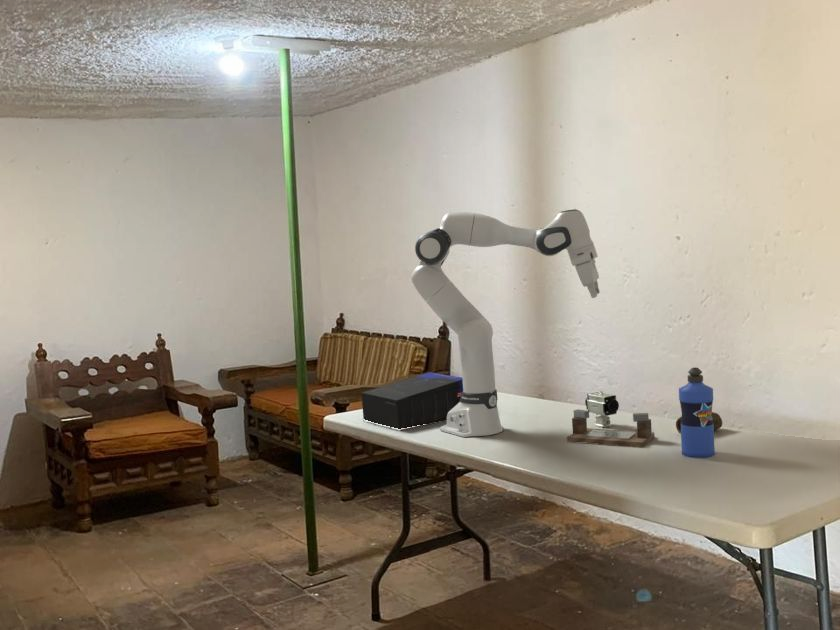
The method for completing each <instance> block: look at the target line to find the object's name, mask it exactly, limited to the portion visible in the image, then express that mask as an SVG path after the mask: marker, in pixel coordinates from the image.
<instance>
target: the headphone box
mask: <svg viewBox="0 0 840 630" xmlns="http://www.w3.org/2000/svg"><path fill="white" fill-rule="evenodd" d="M461 392H463V380H462V376H461V377H460V376H457V375H456V376H454V375H449V374H442V373H436V372H426V373H423V374H419V375H416V376H413V377H410V378H406V379H402V380H400V381H396V382H392V383H390V384H387V385H383V386H382V385H381V386H379V387H376V388H373V389H369V390H366V391H362V392H361V404H362V416H363V419H365V420H368V421H371V422H374V423H378V424H382V425H386V426H390V427H394V428H398V429H401V428H407V427H412V426H417V425H423V424H428V425H431V424H430V423H432V424H435V423H434V422H437V423H440V422H439V421H441V422H445V420H446V421H447V414H448V412H449V411H450V410H451V409H453V408H454V407H455V406H456V405H457V404H458V403H459V402H460V398H461V396H459V397H458V395H460V394H458V393H461ZM423 426H424V425H423Z"/></svg>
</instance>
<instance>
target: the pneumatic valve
mask: <svg viewBox="0 0 840 630" xmlns="http://www.w3.org/2000/svg"><path fill="white" fill-rule="evenodd" d="M584 403H585V407H586V408H585V409H586V410H587V411H589V414H590V413H592V414H596V415H597V416H595V417H594V418H595V419H594V423H595V427H597V426H599V427H598V428H601V427H604V428H606V427H608V426H609V427H611V420H610V419H611V417H610V416H611V415H617V413H618V410H619V406H620V405H619V401H618V400H617V396H616V394H609V393H605V392H603V391H602V390H601V391H598V392H597V391H595V392H591V393H587V395H586V398H585V402H584ZM598 415H599V416H598Z"/></svg>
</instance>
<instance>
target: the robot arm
mask: <svg viewBox="0 0 840 630" xmlns="http://www.w3.org/2000/svg"><path fill="white" fill-rule="evenodd" d="M456 245H463V246H471V247H479V248H486V247H487V248H488V247H489V248H490V247H495V246H501V245H502V246H503V245H509V246H510V245H511V246H518V247H525V248H530V249H533V250H535V251H536V252H538V253H540V254H541V255H543V256H545V257H546V256H547V257H553V256H556V255H558V254H559V253H561V252H562V251H563V250H566V251H567V254H568V256H569V260H570V264H571V265H572V266H573V267H574V268H575V270H576V273H577V276H578V278H579V280H580V283H581V284H582V286H583V287H584V288H585V287H586V288H587V290H588V292H589V294H590V297H591V298H592V299H594V298H597V297H598V294H599V293H600V288H599V283H598V279H599V278H600V276H599V272H598V268H597V266H596V263H597V262H596V260H595V259H596V258H598V253H597V250H596V247H595V243H594V241H593V240H592V238H591V234H590V228H589V225H588V222H587V219H586V218H585V216H584V214H583V212H582V211H581V210H578V209H567V210H566V209H565V210H561V211H559V212H558V213H557V215H556V216H555V217H554V219H552V220H551V222H549V223H548V224H547V225H546V226H544V227H543V228H539V229H537V228H536V229H531V228H525V227H517V226H513V225H509V224H506V223H505V222H502V221H500V220H498V218H495V217H493V216H489V215H485V214H482V213H477V212H467V211H453V212H447V213H446V214H444V215H443V217H442V218H441V221H440V225H439V228H435V229H433V230H430V231H427V232H425V233H422V235H420V236H419V237H418V238H417V240H416V242H415V247H414V251H415V255H416V257H417V258H418V260H419V264H418V265H417V266H416V267H415V268H414V270H413V271H412V273H411V275H410V280H411V283H412V285H413V287H415V289H416V291H417V292H418V294H419V295H420V296H421V298H422V300H424V302H425V303H426V304H427V305H428V306H429V307H430V309H431V310H432V311H434V313H435V314H436V315H437V316H438V317H439V319H440V320H441V321H442V322H444V324H446V325H447V326H448V327H449V328H450V329H451V330H452V331H453V332H454V334H456V335H457V336H458V337H457V339H458V349H459V356H460V357H459V358H460V365H461V377H462V380H463V392H461V393H458V394H460V395H458V397H459V396H461V398H460V402H459V403H458V404H457V405H456V406H455V407H454V408H453V409H451V410H450V411H449V412H448V414H447V420H446V424H444V425H442V426H440V428H439V431H440V432H441V431H442V432H444V433H448V434H452V435H455V436H459V437H463V438H467V437H482V436H483V437H484V436H491V435H492V436H493V435H496V434H500V433H502V432H503V426H502V423H501V419H500V413H499V409H498V391H497V389H496V378H495V377H496V374H495V363H494V354H493V341H492V340H493V334H494V330H493V327H492V324H491V323H490V321H489V320H487V318H486V317H485V316H484V315H483V314H482V313H481V312H480V310H478V309H477V308H476V307H475V306H474V305H473V304H472V303H471V302H470V300H468V299H467V298H466V297H465V295H463V293H462V292H461V291H460V290H459V289H458V287H456V285H455V284H454V283H453V282H452V280H451V279H449V277H448V276H447V275H446V274H445V272H444V271H443V269H442V266H443V264H444V262H445V261H446V259H447V258H448V256H449V253H450V249H451V248H452V246H456Z"/></svg>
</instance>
